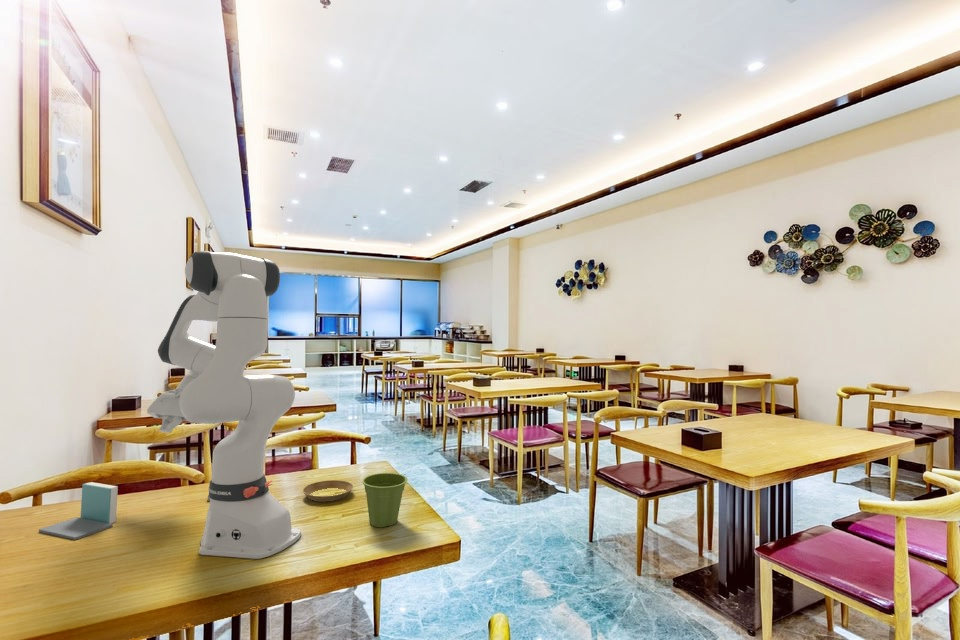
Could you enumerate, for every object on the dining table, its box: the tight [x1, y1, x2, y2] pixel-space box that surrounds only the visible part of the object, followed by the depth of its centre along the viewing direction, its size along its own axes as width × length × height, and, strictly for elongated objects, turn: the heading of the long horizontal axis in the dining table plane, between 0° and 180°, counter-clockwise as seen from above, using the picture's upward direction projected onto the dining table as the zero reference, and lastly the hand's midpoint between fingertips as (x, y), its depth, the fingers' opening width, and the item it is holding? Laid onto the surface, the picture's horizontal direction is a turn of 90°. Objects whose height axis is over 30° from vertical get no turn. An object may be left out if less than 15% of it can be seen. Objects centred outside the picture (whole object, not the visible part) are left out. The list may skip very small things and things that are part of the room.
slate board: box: [38, 516, 113, 541], centre depth 110 cm, size 13×8×1 cm, turn 73°
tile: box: [80, 481, 119, 524], centre depth 116 cm, size 10×2×9 cm, turn 73°
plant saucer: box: [302, 479, 354, 503], centre depth 137 cm, size 15×15×3 cm
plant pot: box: [361, 472, 408, 528], centre depth 118 cm, size 12×12×11 cm
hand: (164, 431), depth 132 cm, fingers closed
